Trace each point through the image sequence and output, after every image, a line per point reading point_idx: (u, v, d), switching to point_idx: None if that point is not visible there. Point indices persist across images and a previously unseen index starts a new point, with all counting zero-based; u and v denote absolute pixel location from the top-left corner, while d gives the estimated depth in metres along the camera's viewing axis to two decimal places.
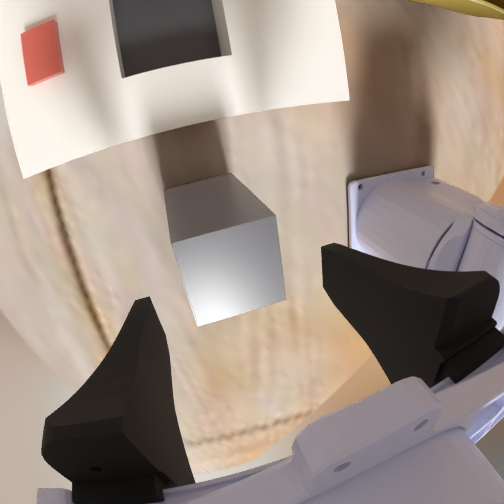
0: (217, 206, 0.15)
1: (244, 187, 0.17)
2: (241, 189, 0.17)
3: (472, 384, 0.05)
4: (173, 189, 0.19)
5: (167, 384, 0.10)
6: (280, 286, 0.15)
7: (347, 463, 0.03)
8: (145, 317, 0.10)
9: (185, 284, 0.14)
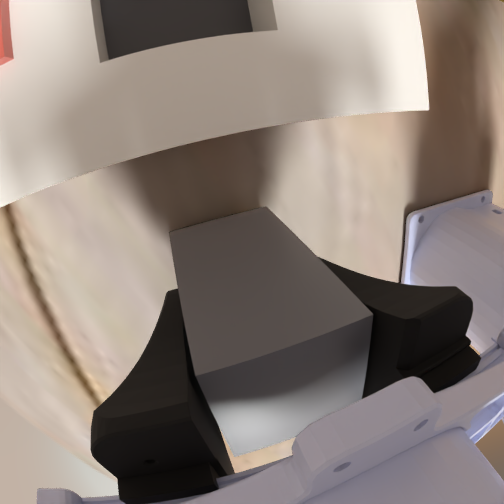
0: (262, 282, 0.09)
1: (296, 239, 0.11)
2: (293, 243, 0.11)
3: (472, 384, 0.05)
4: (183, 232, 0.13)
5: None
6: (356, 399, 0.09)
7: (347, 463, 0.03)
8: None
9: (219, 420, 0.08)
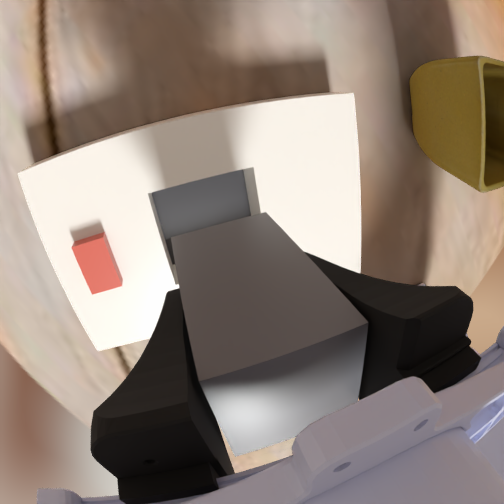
0: (262, 290, 0.10)
1: (295, 246, 0.12)
2: (292, 251, 0.11)
3: (472, 384, 0.05)
4: (184, 238, 0.14)
5: None
6: (352, 401, 0.09)
7: (347, 463, 0.03)
8: None
9: (221, 422, 0.08)
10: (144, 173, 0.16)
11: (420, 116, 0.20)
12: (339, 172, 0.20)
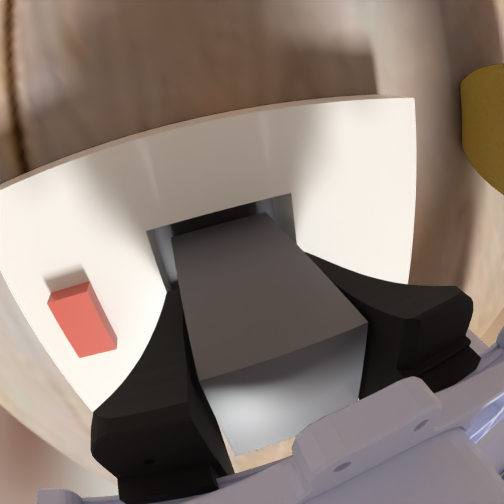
0: (262, 289, 0.10)
1: (295, 246, 0.12)
2: (292, 250, 0.11)
3: (472, 384, 0.05)
4: (184, 238, 0.14)
5: None
6: (352, 401, 0.10)
7: (347, 463, 0.03)
8: None
9: (220, 422, 0.08)
10: (140, 203, 0.12)
11: (475, 128, 0.16)
12: (393, 198, 0.15)
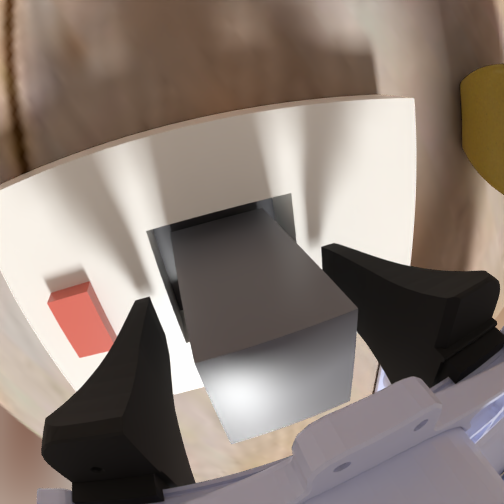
0: (257, 279, 0.10)
1: (290, 239, 0.12)
2: (286, 243, 0.12)
3: (472, 384, 0.05)
4: (183, 233, 0.14)
5: (167, 384, 0.10)
6: (346, 389, 0.10)
7: (347, 463, 0.03)
8: (145, 317, 0.10)
9: (216, 407, 0.08)
10: (140, 203, 0.12)
11: (475, 128, 0.16)
12: (393, 198, 0.15)
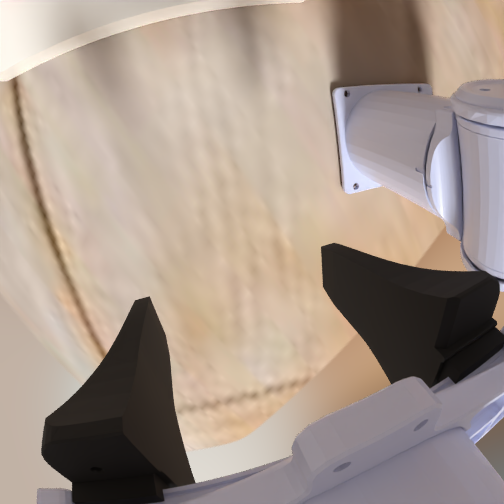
0: None
1: None
2: None
3: (472, 384, 0.05)
4: None
5: (167, 384, 0.10)
6: None
7: (347, 463, 0.03)
8: (145, 317, 0.10)
9: None
10: None
11: None
12: None
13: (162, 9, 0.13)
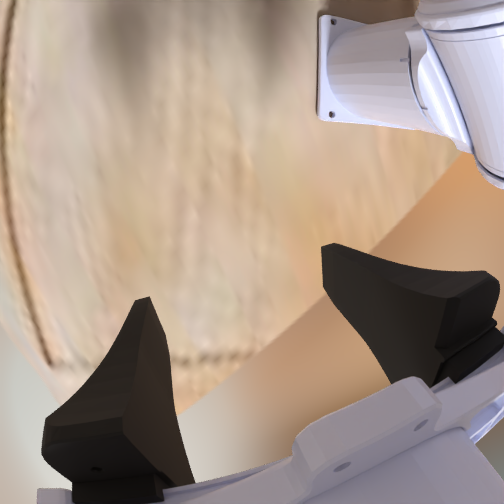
0: None
1: None
2: None
3: (472, 384, 0.05)
4: None
5: (167, 384, 0.10)
6: None
7: (347, 463, 0.03)
8: (145, 317, 0.10)
9: None
10: None
11: None
12: None
13: None
